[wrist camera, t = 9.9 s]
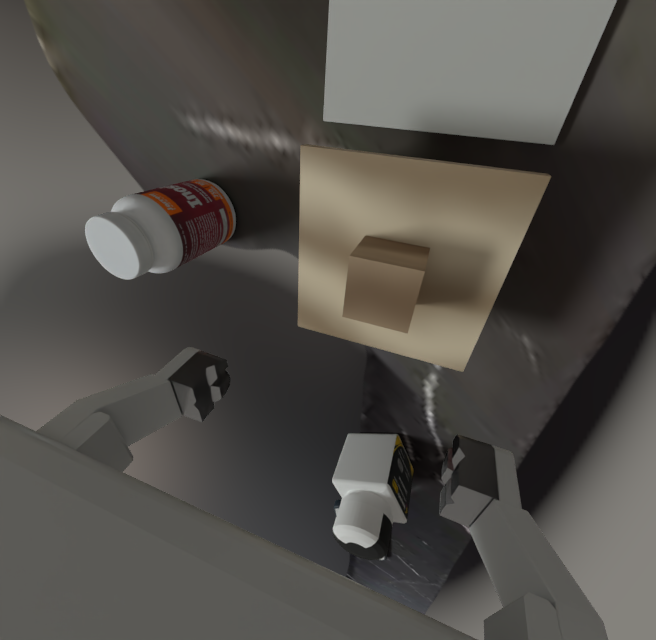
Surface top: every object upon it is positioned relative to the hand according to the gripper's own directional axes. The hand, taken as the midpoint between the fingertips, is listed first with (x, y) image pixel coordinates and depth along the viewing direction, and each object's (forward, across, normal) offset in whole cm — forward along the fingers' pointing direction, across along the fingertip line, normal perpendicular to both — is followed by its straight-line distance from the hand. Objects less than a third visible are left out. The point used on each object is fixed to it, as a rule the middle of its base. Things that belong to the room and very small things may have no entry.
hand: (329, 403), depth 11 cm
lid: (+13, 0, 0) cm, 13 cm away
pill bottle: (+19, +19, +2) cm, 27 cm away
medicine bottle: (+18, -3, +30) cm, 35 cm away
